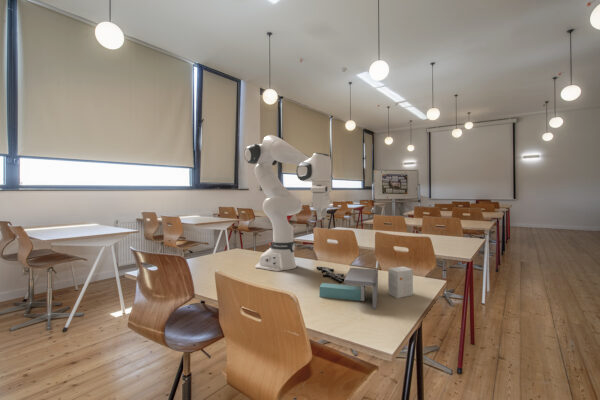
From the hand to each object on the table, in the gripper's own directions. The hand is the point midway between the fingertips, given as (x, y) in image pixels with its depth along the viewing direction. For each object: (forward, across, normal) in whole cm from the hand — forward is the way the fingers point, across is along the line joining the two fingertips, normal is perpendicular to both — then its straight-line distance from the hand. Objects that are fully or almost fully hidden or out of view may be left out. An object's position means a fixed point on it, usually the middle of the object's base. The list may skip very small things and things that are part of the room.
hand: (321, 218), depth 136 cm
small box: (+29, +8, +34) cm, 46 cm away
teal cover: (+29, +17, +11) cm, 35 cm away
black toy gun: (+30, -12, +2) cm, 32 cm away
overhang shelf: (+29, +17, +20) cm, 39 cm away
